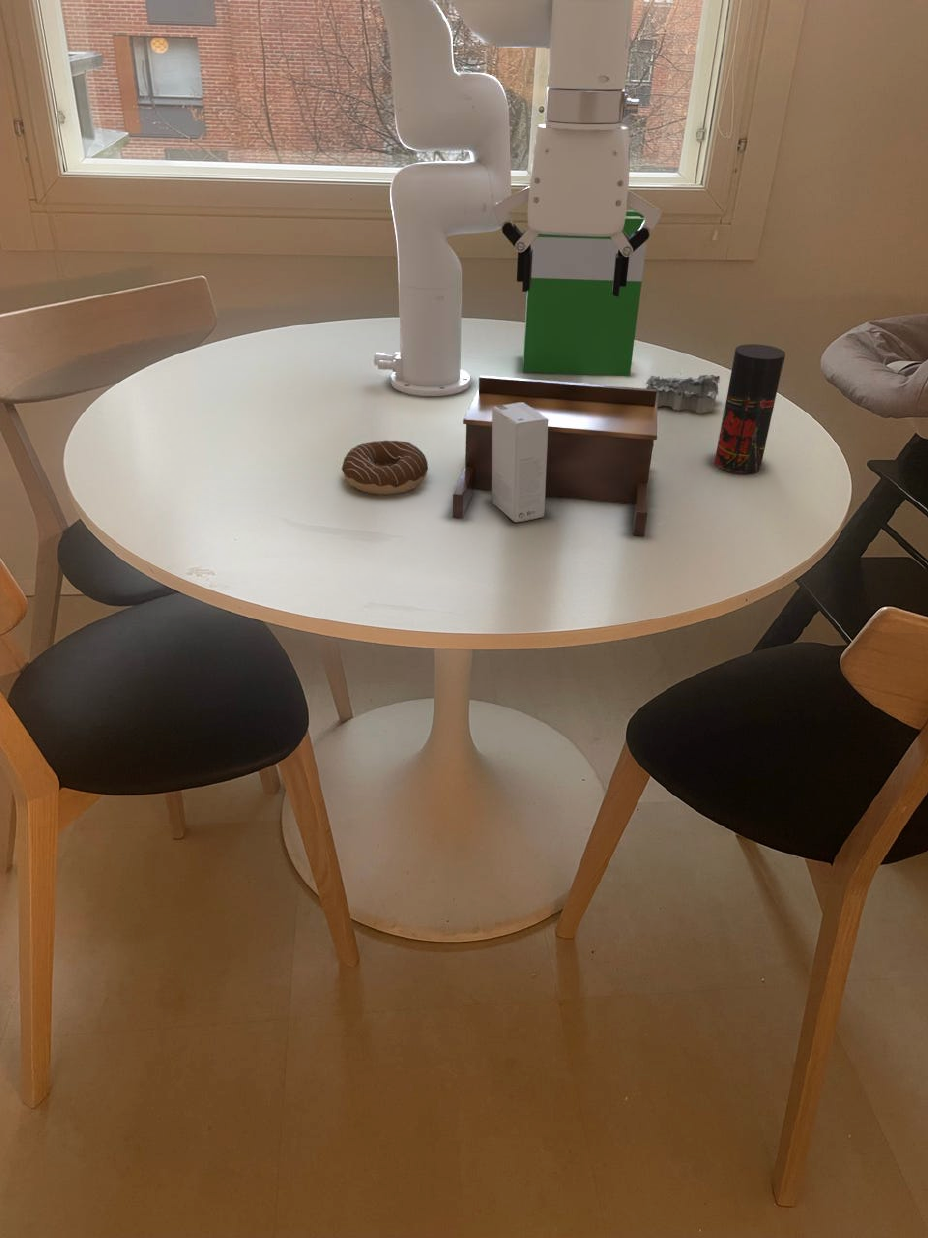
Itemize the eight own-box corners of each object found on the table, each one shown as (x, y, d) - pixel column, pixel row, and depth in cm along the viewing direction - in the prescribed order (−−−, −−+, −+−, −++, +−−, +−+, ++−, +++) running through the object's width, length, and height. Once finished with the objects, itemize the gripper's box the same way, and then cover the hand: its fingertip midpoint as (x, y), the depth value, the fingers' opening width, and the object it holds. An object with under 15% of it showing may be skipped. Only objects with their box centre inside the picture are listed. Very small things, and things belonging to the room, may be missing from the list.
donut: (422, 461, 118) (422, 432, 116) (434, 496, 109) (434, 466, 107) (340, 466, 116) (338, 436, 114) (345, 502, 107) (343, 471, 105)
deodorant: (708, 456, 121) (728, 344, 113) (751, 455, 122) (774, 343, 113) (722, 474, 116) (745, 358, 108) (767, 473, 117) (792, 358, 109)
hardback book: (625, 362, 155) (643, 210, 141) (630, 376, 148) (649, 218, 135) (523, 358, 155) (531, 207, 142) (522, 372, 149) (531, 215, 136)
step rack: (449, 517, 105) (451, 427, 99) (475, 456, 120) (477, 374, 114) (646, 536, 102) (660, 444, 96) (647, 471, 117) (659, 388, 111)
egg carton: (719, 401, 139) (724, 375, 137) (709, 417, 134) (714, 390, 131) (651, 390, 143) (655, 364, 141) (639, 405, 137) (643, 378, 135)
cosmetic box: (545, 517, 105) (553, 418, 98) (512, 524, 103) (517, 423, 97) (520, 496, 110) (526, 399, 103) (487, 502, 108) (491, 405, 101)
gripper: (671, 110, 91) (650, 287, 100) (500, 105, 93) (495, 279, 102) (676, 115, 84) (652, 303, 94) (492, 110, 86) (487, 295, 96)
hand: (570, 291), depth 98 cm, fingers open, 9 cm apart
